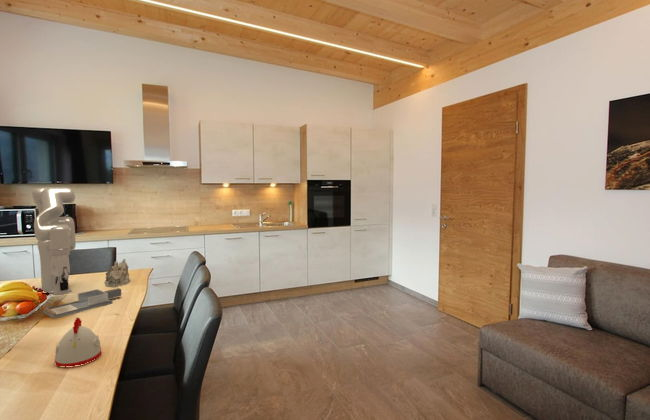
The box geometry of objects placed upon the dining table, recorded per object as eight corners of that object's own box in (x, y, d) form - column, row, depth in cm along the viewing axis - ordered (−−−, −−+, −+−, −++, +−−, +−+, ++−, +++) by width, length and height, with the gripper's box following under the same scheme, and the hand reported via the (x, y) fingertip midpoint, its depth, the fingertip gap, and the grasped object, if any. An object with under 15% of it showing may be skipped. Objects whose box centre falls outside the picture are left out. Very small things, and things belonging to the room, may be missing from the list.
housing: (78, 301, 183) (77, 293, 182) (114, 292, 197) (114, 285, 197) (88, 306, 176) (87, 298, 176) (125, 297, 191) (125, 289, 190)
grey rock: (114, 278, 230) (113, 256, 227) (135, 281, 226) (134, 259, 224) (94, 286, 215) (92, 263, 212) (116, 290, 211) (114, 266, 209)
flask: (61, 296, 167) (60, 275, 166) (49, 295, 169) (47, 274, 168) (75, 291, 174) (74, 271, 173) (63, 290, 176) (62, 271, 175)
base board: (43, 312, 171) (42, 307, 171) (101, 298, 192) (101, 294, 192) (53, 318, 164) (53, 313, 164) (112, 303, 185) (112, 299, 185)
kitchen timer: (49, 371, 120) (47, 328, 119) (61, 352, 133) (59, 314, 131) (97, 363, 126) (96, 322, 124) (104, 346, 138) (102, 309, 137)
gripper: (44, 251, 172) (46, 287, 173) (57, 255, 162) (59, 294, 163) (62, 248, 178) (64, 284, 179) (76, 252, 168) (78, 290, 169)
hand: (62, 288), depth 171 cm, fingers closed on flask, 4 cm apart
